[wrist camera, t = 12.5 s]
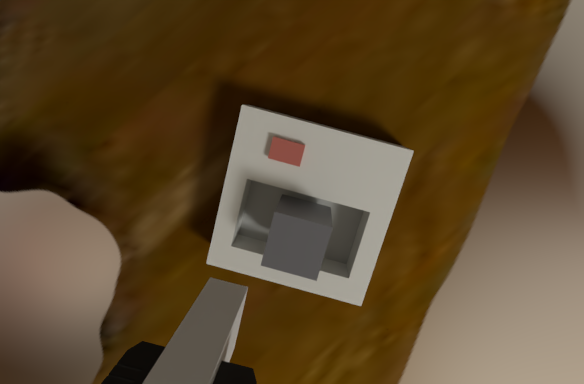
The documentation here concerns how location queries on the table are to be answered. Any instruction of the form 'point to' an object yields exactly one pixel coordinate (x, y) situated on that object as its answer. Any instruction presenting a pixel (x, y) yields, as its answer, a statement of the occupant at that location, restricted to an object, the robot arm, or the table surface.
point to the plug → (298, 237)
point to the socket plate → (307, 197)
